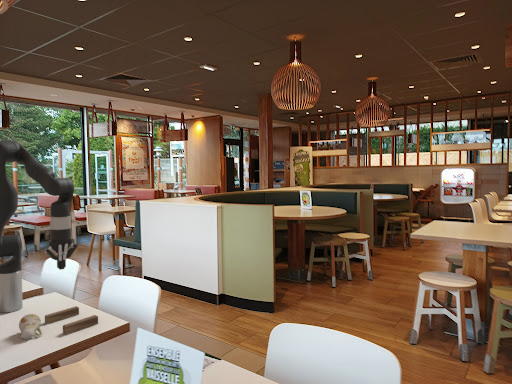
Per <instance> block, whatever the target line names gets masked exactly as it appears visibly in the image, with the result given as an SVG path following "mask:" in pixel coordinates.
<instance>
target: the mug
mask: <svg viewBox="0 0 512 384" xmlns="http://www.w3.org/2000/svg"><path fill="white" fill-rule="evenodd" d="M18 327H19V328H18V329H19V330H20V332H21V334H20V336H21V338H22V340H31V339H32V338H33V337H34V338H36V339H39V338H41V337H42V336H43V332H42V330H41V317H40V316H38V315H37V314H33V313H31V314H30V313H29V314H26V315H24V316H21V319H20V321H19V322H18ZM36 331H37V332H38V333H39V335H37V334H36Z"/></svg>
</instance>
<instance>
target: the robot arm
mask: <svg viewBox="0 0 512 384" xmlns="http://www.w3.org/2000/svg"><path fill="white" fill-rule="evenodd" d="M6 163H7V164H8V163H19V164H20V165H23V166H24V170H25V172H26V174H27V175H28V177H29V178H31V179H32V180H34V181H35V182H36V183H38V184H39V185H40V187H41V188H42V189H43V190H44V192H45V193H46V194H48V195H49V196H52V197H58V199H57V200H55V201H53V202H51V204H50V220H49V233H50V236H49V239H50V242H49V245H48V246H47V247H46V248H43V251H44V253H45V254H46V255H48V257H50V258H51V259H52V260H54V261H56V268H57V269H58V270H64V269H65V268H66V261H67V259H69V258H71V257H72V256H73V254H74V252H75V251H76V249H77V248H78V244H76V243H73V241H72V219H71V204H72V201H73V197H74V194H75V184H74V182H73V180H72V179H70V178H68V177H63V178H62V177H59V178H57V176H56V173H55V172H54V171H53V170H52V169H49V167H47V166H46V165H44V164H43V163H41V162H40V161H38V160H37V159H36V158H35V156H33V155H32V154H31V153H30V152H29V151H28V150H27V149H26V148H25V147H24V146H23V145H22V144H21V143H20V142H18V141H15V140H0V258H6V257H11V258H9V260H7V261H5V262H3V263H0V313H12V312H16V311H19V310H21V309H22V308H23V274H22V273H23V272H22V270H23V269H22V267H23V266H22V247H23V243H22V238H21V235H19V234H10V235H3V231H4V228H5V227H6V226H7V224H8V222H9V221H10V219H11V218H12V217H13V216H14V214H15V213H16V211H17V210H18V208H19V207H18V206H19V196H18V195H19V193H18V191H17V188H16V187H15V185H14V184H13V183H12V181H11V179H9V177H8V174H7V168H6ZM53 251H54V253H53Z"/></svg>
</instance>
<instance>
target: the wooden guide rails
mask: <svg viewBox="0 0 512 384" xmlns="http://www.w3.org/2000/svg"><path fill="white" fill-rule="evenodd" d="M78 315H80V307H78V306H73V307H68V308H66V309H63V310H59V311H55V312H51V313H47V314H45V315H44V323H45V324H47V325H49V324H51V323H52V324H53V323H56V322H59V321H62V320H65V319H68V318H71V317H76V316H78ZM97 324H99V316H98V315H96V314H93V315H90V316H87V317H85V318H81V319H78V320H75V321H71V322H68V323H66V324H65V323H64V324H62V333H63V334H65V335H69V334H72V333H75V332H78V331H80V330H84V329H86V328H90V327H92V326H95V325H97Z"/></svg>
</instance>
